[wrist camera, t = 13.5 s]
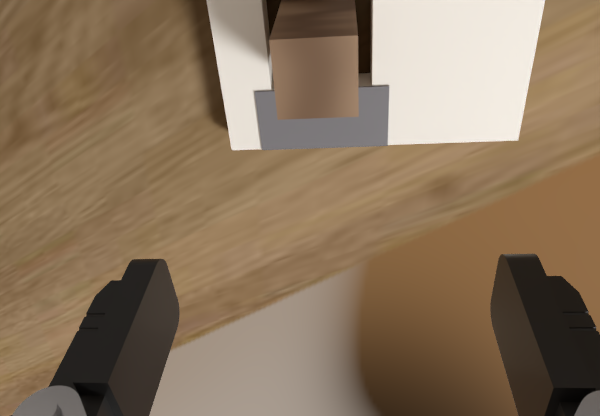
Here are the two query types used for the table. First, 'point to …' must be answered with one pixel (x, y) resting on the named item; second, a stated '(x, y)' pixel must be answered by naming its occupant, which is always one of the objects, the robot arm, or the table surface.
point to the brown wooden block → (315, 59)
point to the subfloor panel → (391, 75)
